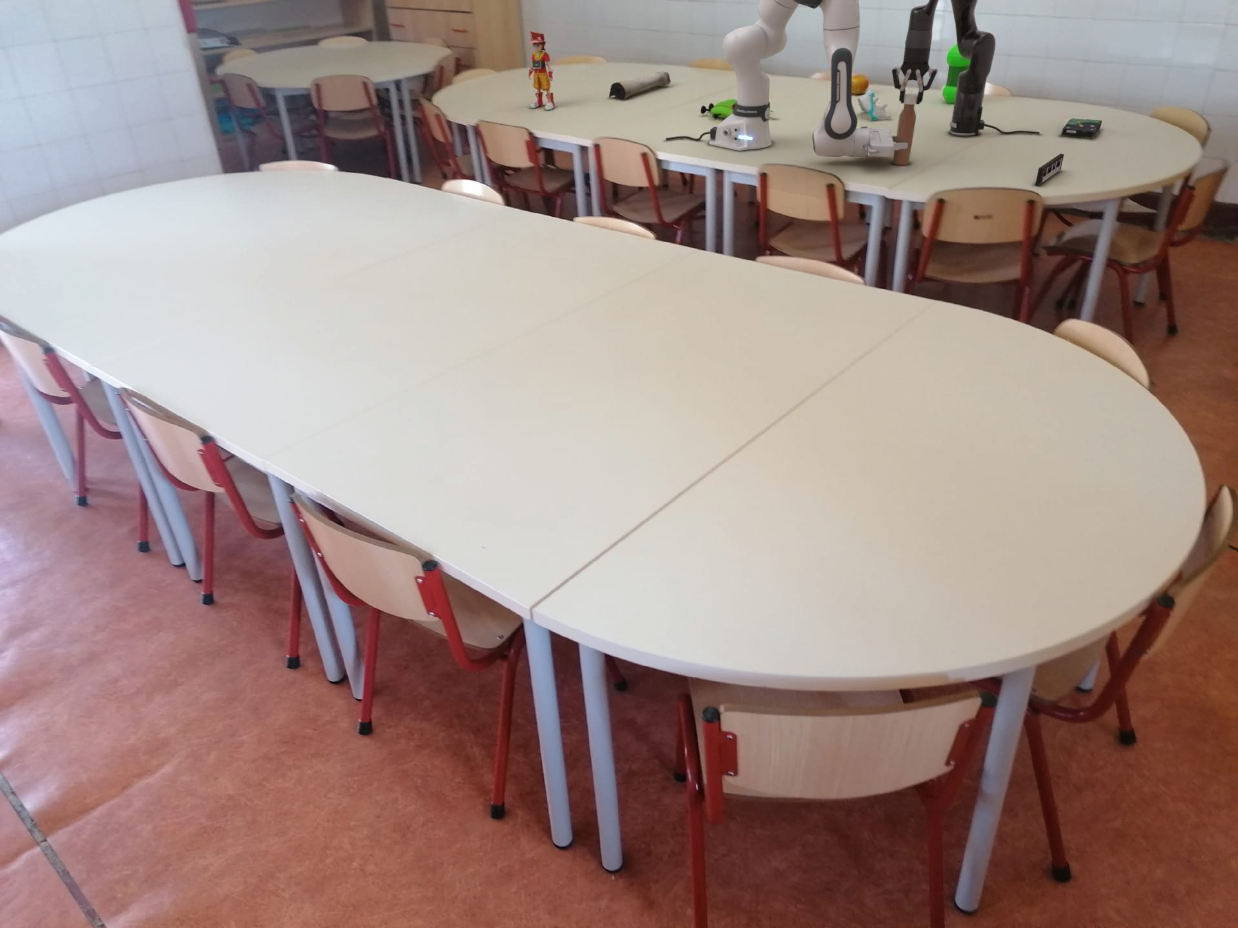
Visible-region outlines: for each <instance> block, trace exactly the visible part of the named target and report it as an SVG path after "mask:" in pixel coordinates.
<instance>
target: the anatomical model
mask: <svg viewBox="0 0 1238 928" xmlns="http://www.w3.org/2000/svg"><path fill="white" fill-rule="evenodd" d="M864 93H865V94H863V95H859V96H858V97H857V102H858V105H859V107H860V110H861V111H862V112H865V113H868V116H869V117H870V119H871V120H872V121H878V120H879V119H890V118H891V117H892V114H890V113H889V114H888V113H886V112H885V111H886V108H887V107H888V106H889V105H888V104H887V103H886V104H883V105H881V106H880V105H879V106H877V105H876V103H877V101H879V97H877V98H875V97H876V95H875V92H872V90H871V89H867V90H866V91H865V92H864Z"/></svg>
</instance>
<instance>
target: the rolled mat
mask: <svg viewBox="0 0 1238 928" xmlns="http://www.w3.org/2000/svg"><path fill="white" fill-rule="evenodd" d="M671 83H672V81H671V77H670V74H669V72H668V71H658V72H654V73H649V74H645V75H640V76H637V77H633V78H628V79H623V80H620V81H616V82H613V83H612V84H611V85H610V89H609V95H608V97H609V98H611V97H616V99H620V100H622V101H623V100H626V99H627V98H629V97H630V96H632V95H635V94H636V93H638V92H640V91H643V90H644V89H647V88H650V87H655V86H658V87H659V86H661V87H665V86H669V85H670V84H671Z"/></svg>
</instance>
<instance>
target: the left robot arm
mask: <svg viewBox="0 0 1238 928" xmlns="http://www.w3.org/2000/svg"><path fill="white" fill-rule="evenodd" d="M799 5H802V6H805V7H808V8H810V9H813V10H814V9H817V8H820V9H821V11H822V14H823V15H822V17H823V19H822V21H823V22H822V37H823V46H824V47H823V48H824V52H825V56H826V61H827V63H828V67H829V72H830V101H829V102H828V104H827V105H826V107H825V110H824V112H823V115H822V117H821V119H820V122H819V124H818V125H817V126H816V128H815V129H814V131H812V135H811V137H812V146H813V147H812V148H813V151H814V154H815V155H816V156H819V157H825V158H841V157H849V158H867V157H868V154H869V156H871V157H881V158H891V157H893V155H894V150H900V149H907V147H908V143H907V142H902V143H895V141H896V135H897V134H892V132H891V130H890V129H888V128H884V127H868V125H864V126H860V127H859V128H858V127H857V126H858V117H857V114H856V110H855V107H854V105H853V102H852V100H853V99H852V95H853V94H852V77H853V69H854V64H855V60H856V56H857V50H858V46H859V40H860V30H861V12H860V11H861V10H860V2H859V0H760V1H759V3H758V5H757V13H758V15H759V18H758V20H757V21H755V23H754V24H751V25H747V26H743V27H742V26H741V27H738V28H736V29H733V30H732V31H730V32H729V33H727V34H726V35H725V36H724V38H723V40H722V47H721V49H722V53H723V56H724V58H725V60H726V61H727V62H729V64H730V65H731V66H732V68H733V71H734V73H735V76H736V77H735V78H736V100H737V102H736V103H735V104H733V105H732V106H730V107H731V108H730V109H733V112H732V114H731V115H730V116H728V117H727V118H724V119H723V120H721V122H720V123H718V125H717V126H713V127H711V129H709V131H707V132H703V133H702V134H700V136H699V137H698V138H694V137H691V136H688V135H679V136H671V137H665V140H666V141H670V140H677V139H678V140H679V139H687V140H691V141H695V142H696V141H700V140H702V138H703V137H704V136H706V135H709V143H708V144H709V145H710V146H716V147H719V148H720V147H721V148H725V149H729V150H734V151H739V152H740V151H741V152H742V151H747V150H748V151H749V150H758V149H764V148H768V147H770V146H771V145H772V144H773V142H772V138H771V131H770V118H769V117H771V112H770V110H771V102H770V85H771V81H770V77H769V76H768V74H767V73H765V72H763V70H762V66H761V60H763V59H764V60H765V59H767V58H772V57H774V56H776V55H777V54H779V53H780V52H782V51H783V50H784V49H785V48H786V45H787V41H788V34H787V30H786V27H787V25H788V23H789V21H790V19H791V18H792V16H793V15H794V13H795V12H796V9H797V8H798V6H799Z"/></svg>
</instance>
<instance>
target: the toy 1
mask: <svg viewBox="0 0 1238 928" xmlns="http://www.w3.org/2000/svg"><path fill="white" fill-rule="evenodd" d="M529 33H530V35H531V36H528V37H527V38H528V39H529V40H528V41H527V43H529V44H530V43H531V44H532V48H533V50H534V51H533V52H532V55H531V58H530V59H531V63H530V66H528V74H527V75H528V76H527V77H528V79H529V80H531V75H532V74H533V84H532V85H533V86H532V87H533V88H534V89H535V90H536V92H534V95H535V97H536V100H535V101H533V102H531V105H530V108H531V109H535V108H538V107H542V106H544V101H543V100H544V99H543V95H544V92H546V94H545V97H546V99H547V103H546V104H545V106H544V110H546V111H549V110H553V109H554V107H555V106H556V105H555V99H554V92H551V91H550V90H551V86H552V84H551V82H552V81H553V80H554V77H553V73H554V71H555V70H554V69H552V68H551V63H550V61H551V59H550V58H551V57H550V54H549V53H548V52H547V50H546V48H545V46H546V44H547V41H545V35H544V33H543V32H542V33H539V32H535V31H529Z"/></svg>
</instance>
